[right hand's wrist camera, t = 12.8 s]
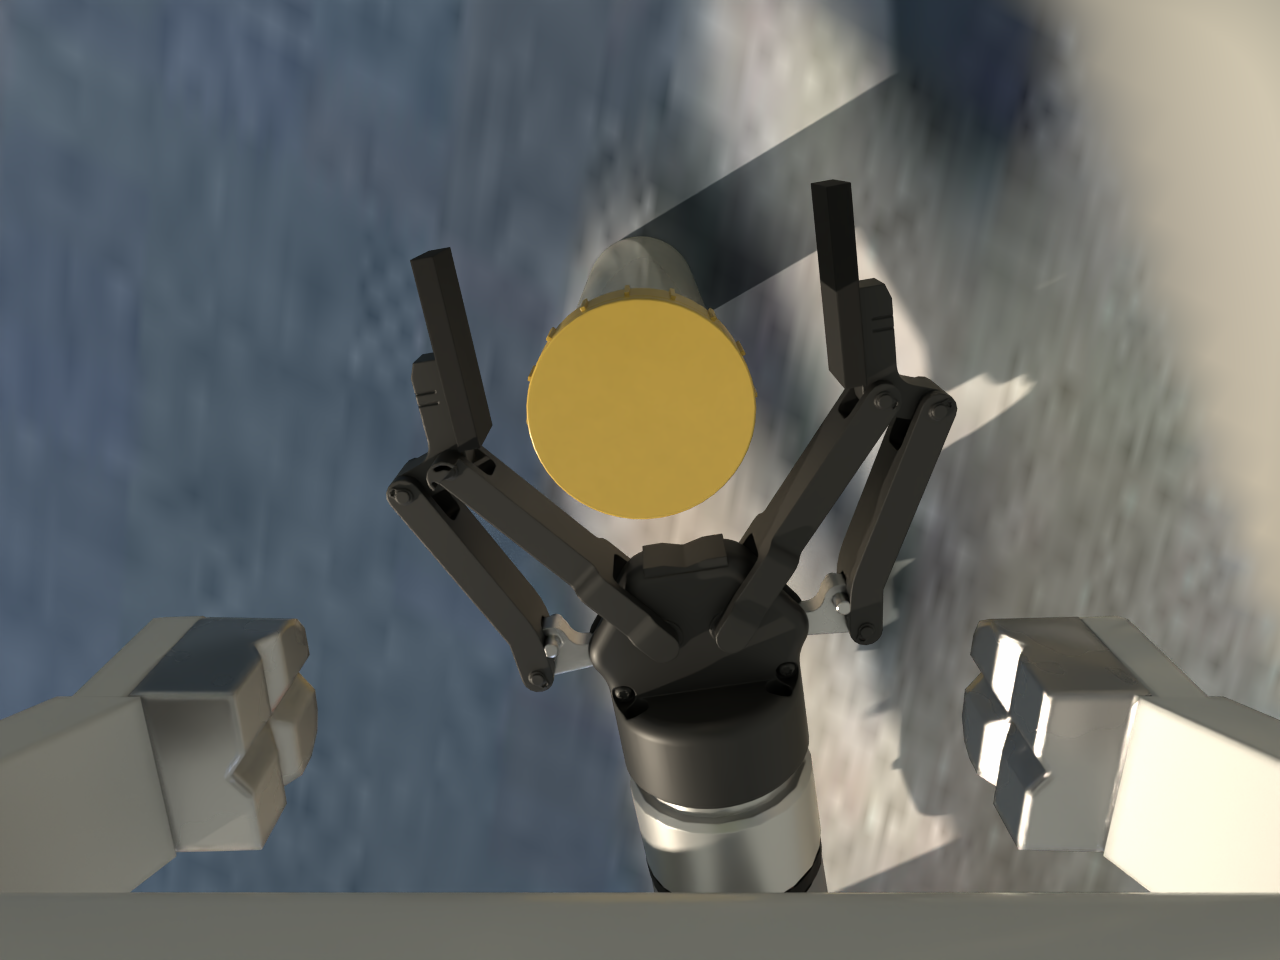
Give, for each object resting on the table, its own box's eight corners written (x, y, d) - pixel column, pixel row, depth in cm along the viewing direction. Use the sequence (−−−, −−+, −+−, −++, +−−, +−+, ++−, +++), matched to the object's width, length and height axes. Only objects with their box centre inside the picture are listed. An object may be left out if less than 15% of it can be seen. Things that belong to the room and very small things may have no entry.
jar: (689, 347, 37) (727, 504, 21) (584, 339, 37) (541, 491, 21) (699, 240, 36) (748, 319, 19) (590, 231, 36) (548, 304, 19)
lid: (737, 503, 22) (743, 528, 21) (529, 488, 22) (521, 513, 21) (762, 294, 20) (772, 306, 19) (536, 277, 20) (528, 287, 19)
